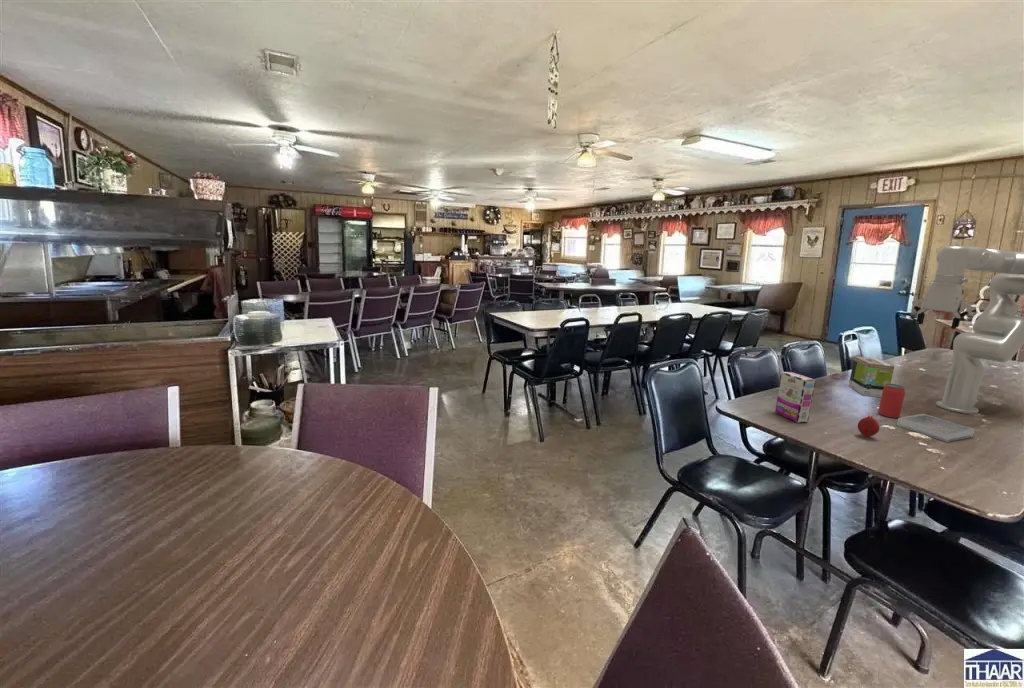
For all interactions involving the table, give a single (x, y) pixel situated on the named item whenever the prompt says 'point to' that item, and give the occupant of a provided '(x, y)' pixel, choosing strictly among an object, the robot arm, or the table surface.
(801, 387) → the candy bar box
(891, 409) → the beer can
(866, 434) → the onion
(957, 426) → the rimmed tray
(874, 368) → the tea box
